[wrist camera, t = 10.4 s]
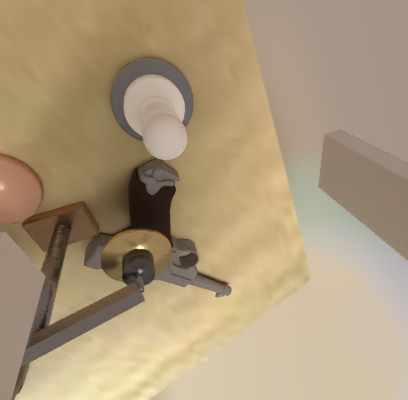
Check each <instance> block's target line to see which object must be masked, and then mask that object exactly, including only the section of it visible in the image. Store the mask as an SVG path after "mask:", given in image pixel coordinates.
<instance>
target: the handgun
mask: <svg viewBox="0 0 408 400" xmlns="http://www.w3.org/2000/svg"><path fill="white" fill-rule="evenodd" d="M175 180H176V181H179V180H180V178H179V176H178V174H177V172H176V171H175V170H173V169H172V168H170V167H168V166H166V165H165V164H164V163H163V162H162V160H161V159H157V158H156V159H154V160H152V161H151V162H149V163H146V164H145V165H144V166H142V165H140V167H139V169H137V168H136V169H135V170H134V172H133V174H132V177H131V180H130V183H129V211H130V219H131V226H130V227H129V228H128V229H126V230H129V229H136V228H145V229H151V230H155V231H157V232H159V233H161V234H163V235H164V236H165V237H166V238H167V239H168V240H169V242H170V244H171V248H172V253H173V257H172V261H171V263H170V265H169V267H168V268H167V269H166V270H165V271H164V272H163V273H161V274H160V275H159V276H157V277H155V278H154V279H153V280H157V279H159V280H162V281H166V282H169V283H172V284H175V285H179V286H182V287H186V286H187V285H188V284H190V285H194V286H197V287H201V288H204V289H208V290H212V291H215V292H217V293H216V296H215V297H222V296H224V295H227V296H228V295H230V293H231V290H232V289H231V287H230V286H227V285H225V284H220V283H218V282H215V281H213V280H210V279H207V278H205V277H202V276H200V275H197V268H196V264H197V263H198V261H199V256H198V253H197V250H196V247H195V245H194V243H193V242H192V241H190V240H187V239H175V238H173V237H172V236H171V234H170V205H171V201H172V198H173V196H174V194H175V191H176V188H175V185H174V184H175ZM124 231H125V230H124ZM121 232H123V231H121ZM119 233H120V232H119ZM117 234H118V233H117ZM112 237H113V236H108V235H103V234H98V235H97V236H95V238H94V239H93V240H92V242H91V243H90V244H89V246H88V247H87V248H86V252H85V260H84V266H87V267H91V268H94V269H102V267H101V262H100V261H101V252H102V249H103V247H104V245H105V244H106V242H107V241H108V240H109V239H110V238H112ZM185 251H186V252H192V253H191V254H190V255H189V256H185V257H179V256H180V254H181V253H182V252H185Z"/></svg>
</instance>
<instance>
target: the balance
mask: <svg viewBox="0 0 408 400" xmlns="http://www.w3.org/2000/svg"><path fill="white" fill-rule="evenodd" d="M22 227H23V228H24V229H25V230H26V231H27V232H28V234H29V235H30V236H31V237H32V238H33V240H34V241H35V242H36V243H37V244H38V246H39V247H40V248H41V249H42V250H43V251H44V252H45V251H47V252H46V256H45V259H44V262H43V265H42V268H41V271H42V273H43V274H44V275H45V276H46V277H45V280H44V284H43V288H42V291H41V295H40V298H39V302H38V306H37V309H36V313H35V316H34V320H33V324H32V327H31V331H30V334H29V338H28V342H27V345H26V349H25V352H24V356H23V360H22V363H21V367H22V366H24V365H26V364H28V363H29V362H31V361H33V360H35V359H37V358H39V357H41V356H43V355H44V354H46V353H48V352H50V351H52V350H54V349H56V348H57V347H59V346H61V345H63V344H65V343H67V342H69V341H71V340H72V339H74V338H76V337H78V336H80V335H82V334H84V333H85V332H87V331H89V330H91V329H93V328H95V327H97V326H99V325H100V324H102V323H104V322H106V321H108V320H110V319H112V318H113V317H115V316H117V315H119V314H121V313H123V312H125V311H127V310H128V309H130V308H132V307H134V306H136V305H138V304H140V303H141V302H143V301H145V299H144V296H143V294H142V292H144V285H147V284H149V283H150V282H151V281H152V280H153V279H154V278H155V277H157V276H159V275H160V274H161V273H163V272H164V271H165V270H166V269H167V268H168V267H169V265H170V263H171V261H172V257H173V253H172V248H171V244H170V242H169V240H168V239H167V238H166V237H165V236H164V235H163V234H161V233H159V232H157V231H155V230H151V229H145V228H136V229H129V230H125V231H123V232H120V233H118V234H116V235H115V236H113V237H112V238H110V239H109V240H108V241H107V242H106V244H105V245H104V247H103V249H102V252H101V261H100V262H101V267H102V269H103V271H104V272H105V273H106V274H107V275H108V276H109V277H111V278H113V279H115V280H117V281H121V282H124V283H125V284H127V285H128V286H126V287H124V288H122V289H120V290H118V291H116V292H114V293H112V294H110V295H108V296H106V297H104V298H102V299H101V300H99V301H97V302H95V303H93V304H91V305H89V306H87V307H85V308H83V309H81V310H79V311H77V312H75V313H73V314H71V315H69V316H67V317H65V318H63V319H61V320H59V321H57V322H55V323H53V324H52V325H50V326H49V322H50V318H51V314H52V309H53V305H54V301H55V296H56V292H57V288H58V284H59V279H60V275H61V271H62V266H63V262H64V258H65V254H66V249H67V245H68V244H71V243H75V242H78V241H81V240H84V239H88V238H91V237H94V236H97V235H98V234H99V227H98V225H97V224H96V222H95V220H94V219H93V217H92V215H91V214H90V212H89V210H88V209H87V207H86V205H85V204H84V202H80V203H76V204H73V205H69V206H66V207H62V208H59V209H56V210H52V211H49V212H45V213H42V214H39V215H35V216H32V217H29V218H28V219H25V220H24V222H23V224H22Z"/></svg>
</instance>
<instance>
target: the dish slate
mask: <svg viewBox="0 0 408 400" xmlns="http://www.w3.org/2000/svg"><path fill="white" fill-rule="evenodd" d="M149 74H155V75H160V76H163V77H165V78H167V79H169V80H170V81H171V82H172V83H173V84H174V85H175V86H176V87H177V88H178V90H179V91H180V93H181V94H182V97H183V100H184V103H185V114H184V119H183V121H182V124H183V125H184V126H185V127H186V126H187V124H188V122H189V120H190V118H191V115H192V111H193V95H192V91H191V88H190V85H189V83H188V82H187V80H186V78H185V77H184V76H183V74H182V73H181V72H180V71H179V70H178V69H177V68H175V67H174V66H173V65H172V64H170V63H168V62H166V61H164V60H161V59H158V58H140V59H137V60H134V61H132V62H130V63H129V64H127V65H126V66H125V67H124V68H123V69H122V70H121V71H120V72H119V74H118V75H117V77H116V79H115V81H114V84H113V88H112V97H111V101H112V109H113V112H114V115H115V118H116V120H117V121H118V123H119V125H120V126H121V127H122V128H123V129H124V130H125V131H126V132H127V133H128V134H129V135H131V136H132V137H134V138H136V139H138V140H140V141H143V136H141V135H139V134H138V133H137V132H135V131H134V130H133V129H132V128H131V126H130V125H129V124H128V122H127V120H126V118H125V113H124V96H125V93H126V90H127V88H128V87H129V85H130V84H131V83H132V82H133V81H134V80H135V79H137V78H138V77H141V76H144V75H149Z"/></svg>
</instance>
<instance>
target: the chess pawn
mask: <svg viewBox="0 0 408 400" xmlns="http://www.w3.org/2000/svg"><path fill="white" fill-rule="evenodd" d="M124 113H125V118H126V120H127V122H128V124H129V125H130V126H131V128H132V129H133V130H134V131H135V132H137V133H138V134H139V135H141V136H143V142H144V145H145V147H146V149H147V151H148V152H149V153H150V154H151V155H153V156H154V157H155V158H158V159H161V160H171V159H174V158H176V157H178V156H179V155H180V154H181V153H182V152H183V151H184V149H185V147H186V145H187V140H188V138H187V131H186V129H185V126H184V125H183V124H182V121H183V119H184V114H185V103H184V100H183V97H182V94H181V93H180V91H179V90H178V88H177V87H176V86H175V85H174V84H173V83H172V82H171V81H170V80H169V79H167V78H165V77H163V76H160V75H155V74H149V75H144V76H141V77H138V78H137V79H135V80H134V81H133V82H132V83H131V84H130V85H129V87H128V88H127V90H126V93H125V96H124Z"/></svg>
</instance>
